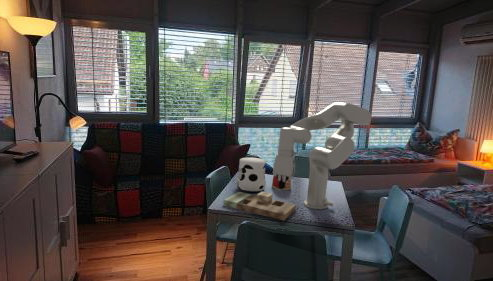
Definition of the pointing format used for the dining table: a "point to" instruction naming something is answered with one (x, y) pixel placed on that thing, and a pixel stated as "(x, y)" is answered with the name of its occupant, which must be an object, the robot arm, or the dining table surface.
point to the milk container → (251, 175)
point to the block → (264, 197)
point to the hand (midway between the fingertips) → (281, 188)
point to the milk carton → (276, 183)
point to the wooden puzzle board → (260, 206)
